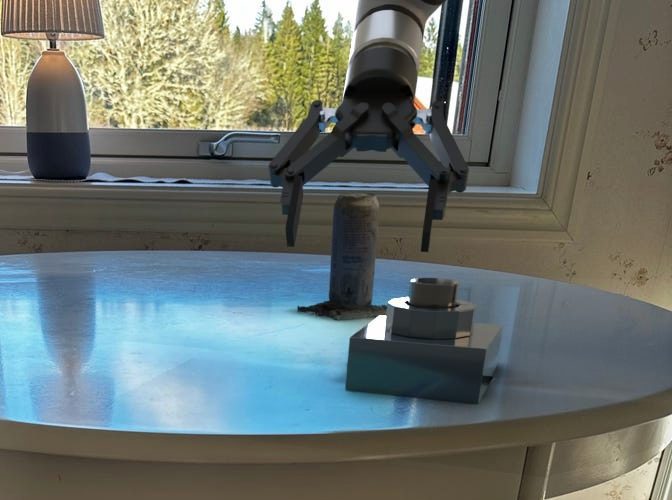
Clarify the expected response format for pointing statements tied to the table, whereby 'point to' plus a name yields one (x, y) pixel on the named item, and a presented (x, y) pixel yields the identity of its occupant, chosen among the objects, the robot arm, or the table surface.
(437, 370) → the grey stepped square block
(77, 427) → the table surface
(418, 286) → the cylinder
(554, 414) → the table surface
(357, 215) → the beverage can
